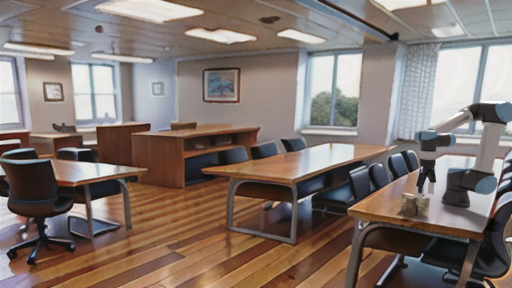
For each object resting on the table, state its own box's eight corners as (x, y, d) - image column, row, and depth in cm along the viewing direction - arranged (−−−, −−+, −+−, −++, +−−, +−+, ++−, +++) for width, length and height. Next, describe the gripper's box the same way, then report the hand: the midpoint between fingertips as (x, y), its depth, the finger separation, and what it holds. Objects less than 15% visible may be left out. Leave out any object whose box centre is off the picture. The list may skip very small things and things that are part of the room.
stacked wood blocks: (400, 210, 176) (401, 193, 175) (403, 208, 178) (404, 192, 177) (426, 216, 165) (427, 199, 164) (428, 215, 167) (429, 198, 166)
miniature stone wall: (417, 209, 178) (419, 192, 176) (423, 210, 175) (424, 194, 174) (405, 215, 168) (406, 197, 166) (410, 216, 165) (412, 199, 164)
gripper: (429, 155, 175) (427, 190, 177) (410, 160, 159) (408, 199, 162) (444, 156, 169) (441, 193, 172) (425, 162, 153) (423, 202, 156)
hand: (425, 196), depth 167 cm, fingers open, 13 cm apart
